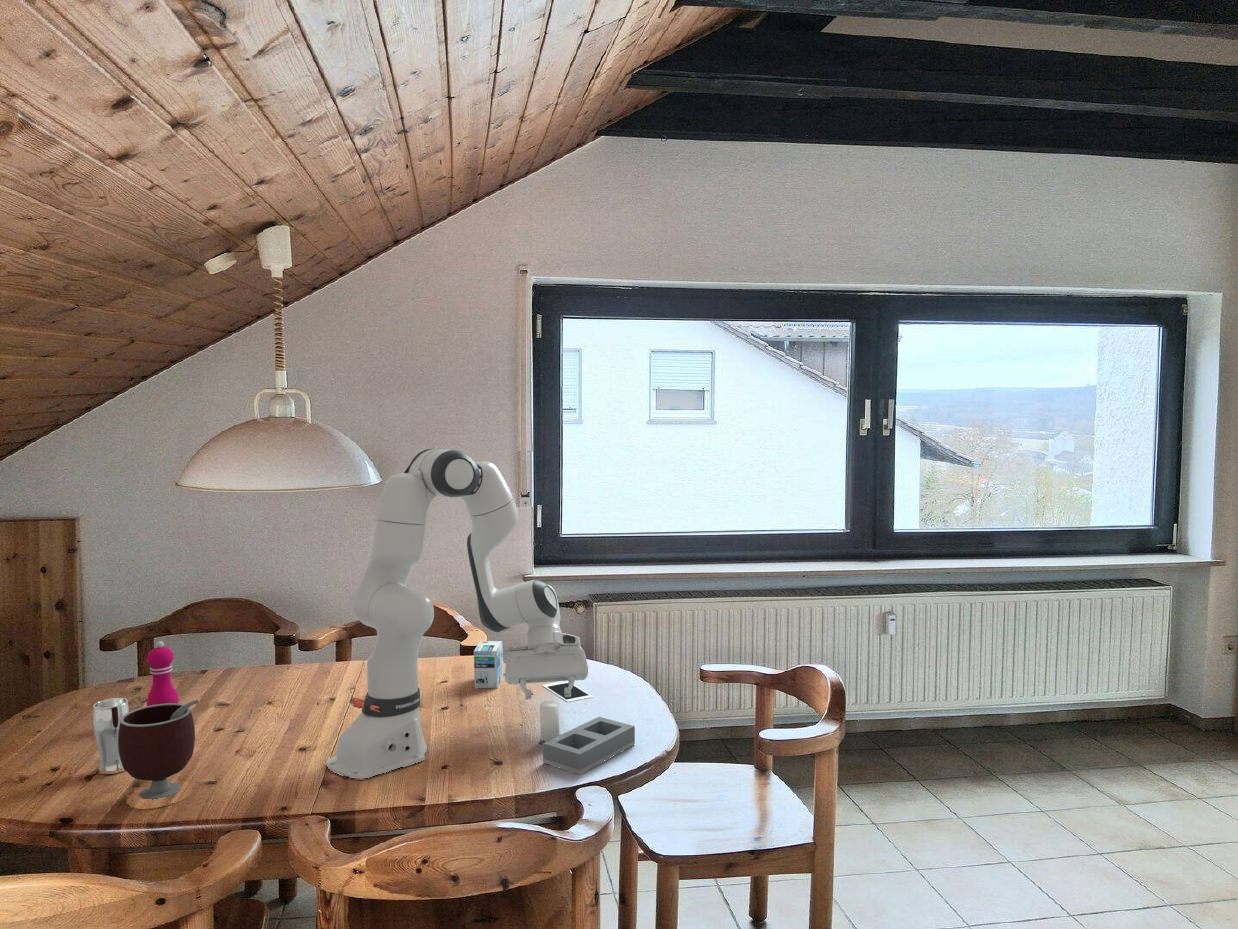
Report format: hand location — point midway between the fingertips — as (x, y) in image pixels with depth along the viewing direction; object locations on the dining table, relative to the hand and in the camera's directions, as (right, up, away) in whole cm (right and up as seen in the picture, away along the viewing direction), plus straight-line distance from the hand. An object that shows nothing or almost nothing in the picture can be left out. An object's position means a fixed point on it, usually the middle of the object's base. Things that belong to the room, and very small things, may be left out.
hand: (548, 697), depth 212 cm
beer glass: (-94, -12, -17) cm, 96 cm away
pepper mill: (-99, -9, +14) cm, 101 cm away
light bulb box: (-20, -7, +40) cm, 45 cm away
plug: (+1, -9, -4) cm, 10 cm away
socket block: (+10, -10, -11) cm, 18 cm away
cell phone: (+3, -7, +32) cm, 33 cm away
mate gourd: (-76, -12, -30) cm, 83 cm away
